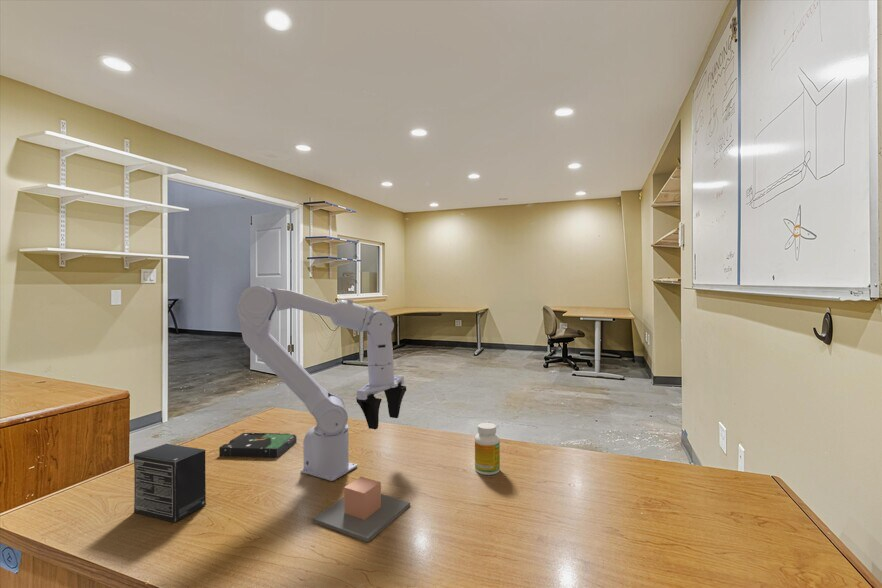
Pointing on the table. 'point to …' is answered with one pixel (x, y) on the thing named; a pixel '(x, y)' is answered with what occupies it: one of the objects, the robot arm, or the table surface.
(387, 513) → the mat
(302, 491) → the table surface
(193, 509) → the small box
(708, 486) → the table surface
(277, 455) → the disk drive
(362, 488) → the cube
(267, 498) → the table surface
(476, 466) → the supplement bottle
